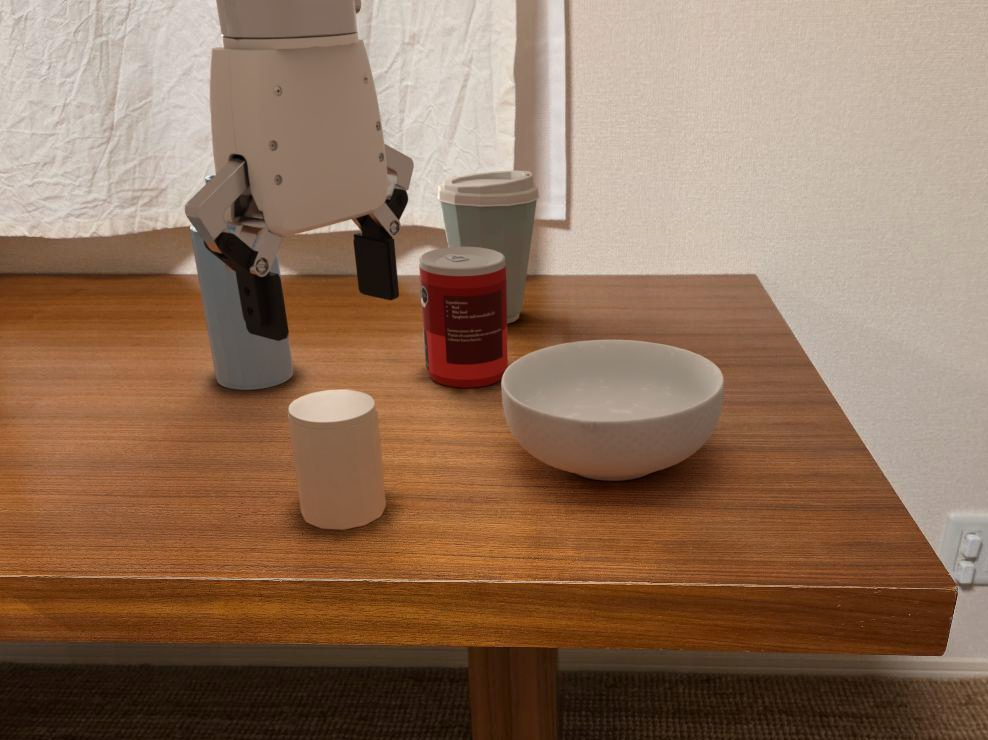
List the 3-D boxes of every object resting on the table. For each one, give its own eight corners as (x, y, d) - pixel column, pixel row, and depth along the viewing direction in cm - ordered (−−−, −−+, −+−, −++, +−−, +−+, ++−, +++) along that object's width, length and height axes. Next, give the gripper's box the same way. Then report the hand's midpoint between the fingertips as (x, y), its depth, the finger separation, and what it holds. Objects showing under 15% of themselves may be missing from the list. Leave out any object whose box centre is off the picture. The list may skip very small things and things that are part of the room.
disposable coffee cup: (433, 331, 106) (424, 182, 99) (452, 301, 116) (446, 163, 108) (533, 334, 105) (532, 184, 98) (544, 303, 114) (544, 165, 107)
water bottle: (250, 395, 91) (217, 188, 82) (201, 379, 94) (164, 178, 85) (308, 373, 96) (283, 174, 87) (259, 358, 99) (230, 166, 90)
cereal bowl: (569, 402, 89) (570, 325, 85) (748, 442, 82) (758, 359, 78) (460, 476, 76) (456, 389, 73) (660, 531, 69) (666, 437, 65)
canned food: (460, 354, 100) (455, 242, 94) (525, 370, 96) (523, 254, 90) (408, 377, 95) (399, 259, 89) (475, 395, 91) (470, 273, 85)
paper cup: (343, 537, 69) (330, 429, 65) (285, 514, 71) (269, 409, 67) (401, 505, 73) (392, 401, 69) (344, 483, 76) (332, 383, 72)
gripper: (351, 8, 64) (378, 275, 73) (112, 24, 52) (177, 342, 61) (440, 9, 60) (457, 291, 69) (204, 27, 48) (260, 366, 57)
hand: (326, 315), depth 65 cm, fingers open, 9 cm apart
